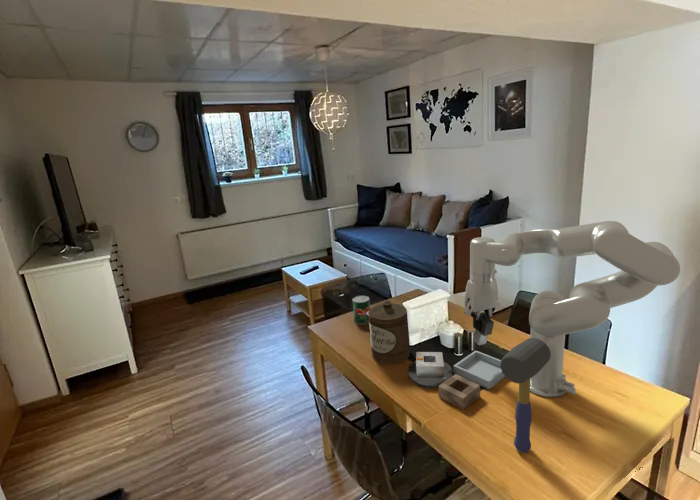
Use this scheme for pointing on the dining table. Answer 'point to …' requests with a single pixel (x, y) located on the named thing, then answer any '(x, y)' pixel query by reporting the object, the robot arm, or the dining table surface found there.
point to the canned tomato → (361, 309)
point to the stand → (459, 391)
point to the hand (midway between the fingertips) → (481, 327)
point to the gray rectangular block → (483, 329)
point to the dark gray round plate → (428, 381)
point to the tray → (480, 369)
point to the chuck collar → (429, 364)
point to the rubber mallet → (524, 383)
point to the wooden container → (389, 333)
